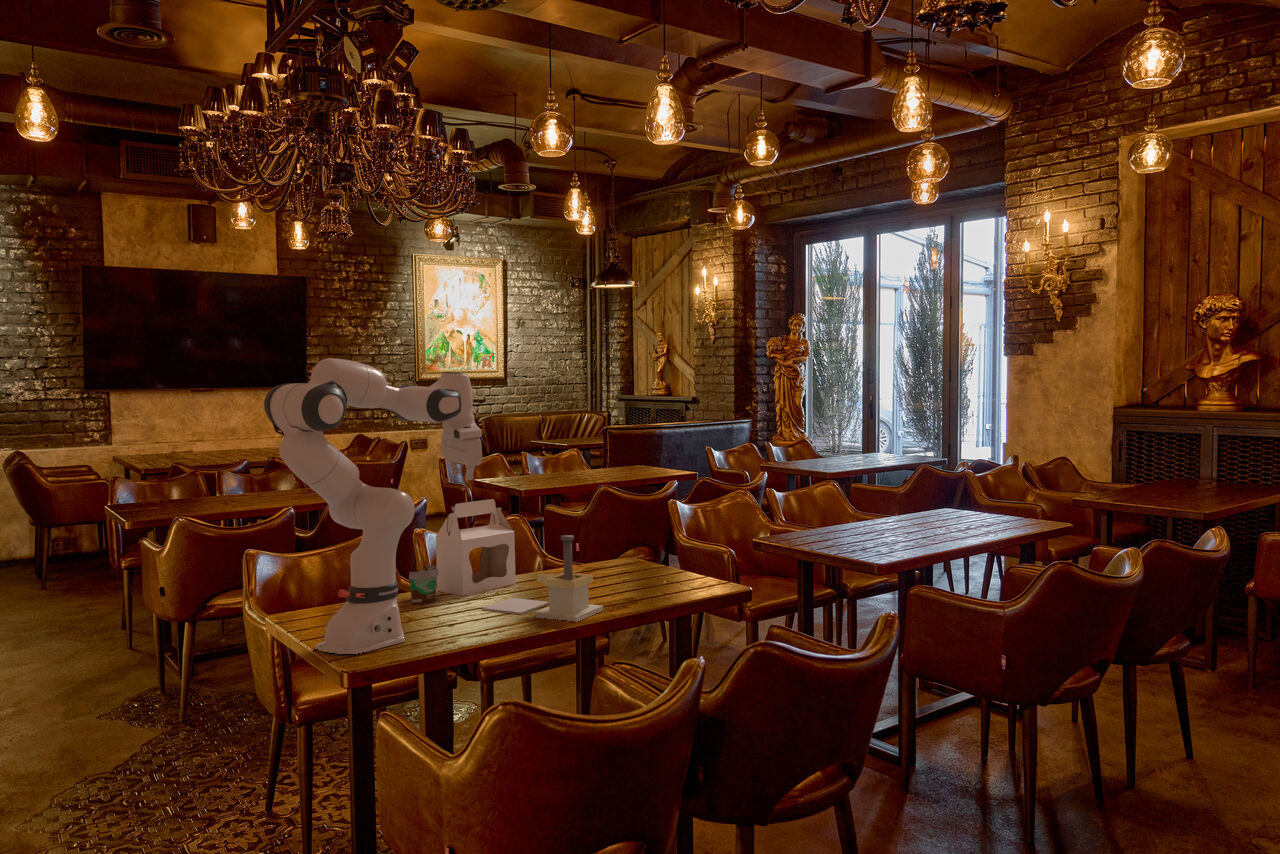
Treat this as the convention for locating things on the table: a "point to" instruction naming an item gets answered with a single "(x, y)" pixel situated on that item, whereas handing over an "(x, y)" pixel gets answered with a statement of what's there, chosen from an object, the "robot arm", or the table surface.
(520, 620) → the table surface
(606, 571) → the table surface
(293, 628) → the table surface
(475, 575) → the gable box
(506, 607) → the mat
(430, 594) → the food container
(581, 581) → the ring
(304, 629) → the table surface
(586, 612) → the stand
